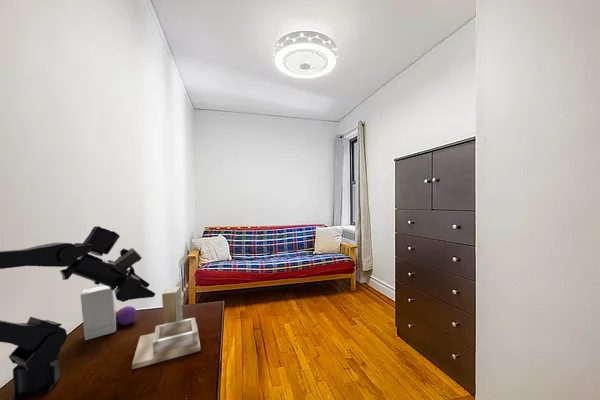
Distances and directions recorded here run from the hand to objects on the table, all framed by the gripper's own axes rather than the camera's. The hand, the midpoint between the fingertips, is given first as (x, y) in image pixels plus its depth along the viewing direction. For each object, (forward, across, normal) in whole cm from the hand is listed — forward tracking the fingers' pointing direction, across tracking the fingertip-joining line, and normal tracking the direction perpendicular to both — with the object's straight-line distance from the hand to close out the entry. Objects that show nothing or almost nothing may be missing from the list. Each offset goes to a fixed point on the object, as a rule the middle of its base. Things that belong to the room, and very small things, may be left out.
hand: (151, 290), depth 80 cm
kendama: (+4, +24, +18) cm, 31 cm away
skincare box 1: (-1, +16, +21) cm, 26 cm away
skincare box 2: (+14, +4, +9) cm, 17 cm away
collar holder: (+10, -9, +10) cm, 17 cm away
